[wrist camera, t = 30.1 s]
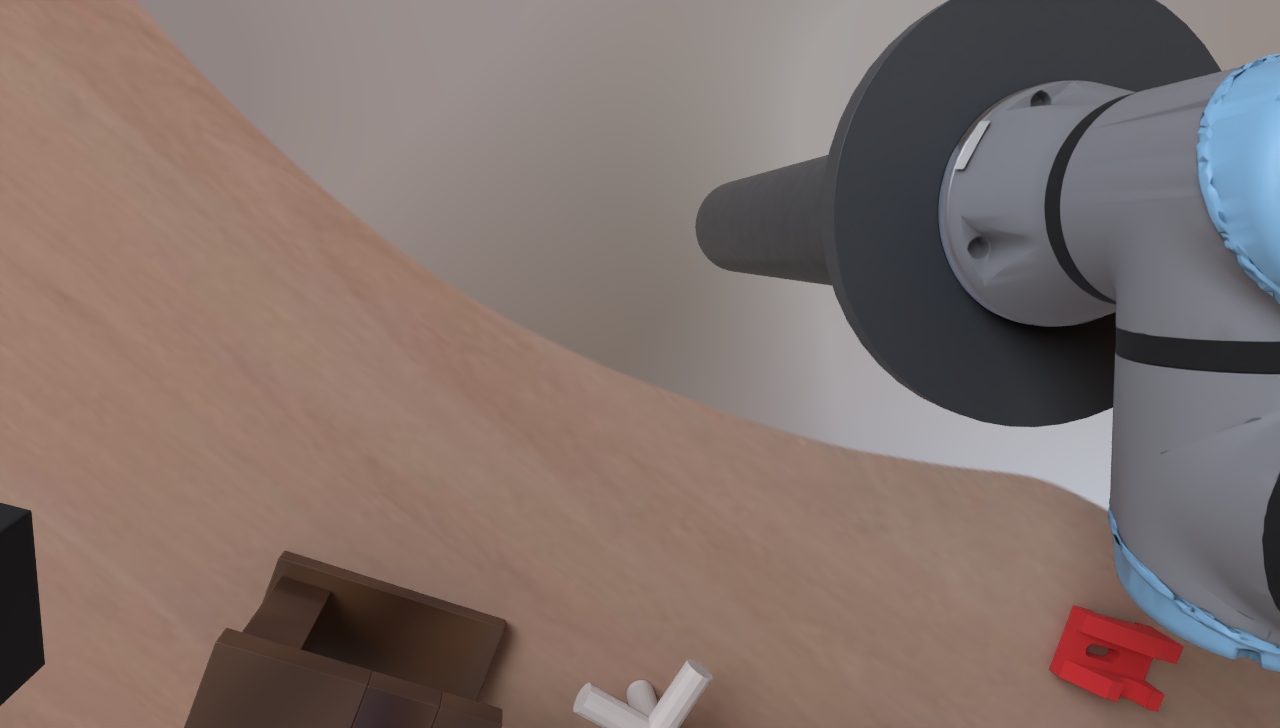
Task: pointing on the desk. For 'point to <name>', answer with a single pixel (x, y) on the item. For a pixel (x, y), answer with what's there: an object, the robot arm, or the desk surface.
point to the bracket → (1112, 657)
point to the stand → (349, 658)
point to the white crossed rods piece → (645, 701)
